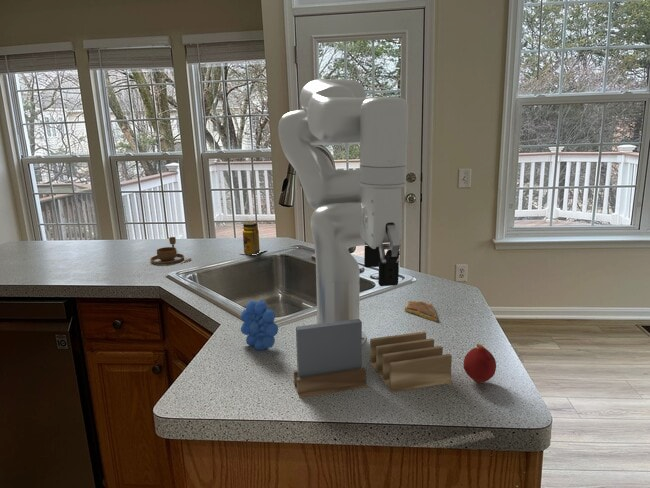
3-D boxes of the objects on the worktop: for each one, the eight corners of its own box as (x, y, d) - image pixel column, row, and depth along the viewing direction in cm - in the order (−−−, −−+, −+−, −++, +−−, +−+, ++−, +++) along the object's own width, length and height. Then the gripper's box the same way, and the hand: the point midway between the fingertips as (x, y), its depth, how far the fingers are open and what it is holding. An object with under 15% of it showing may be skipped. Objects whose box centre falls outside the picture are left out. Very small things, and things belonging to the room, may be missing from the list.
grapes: (292, 351, 101) (290, 300, 98) (269, 363, 96) (266, 309, 93) (258, 336, 109) (255, 288, 106) (235, 346, 104) (231, 296, 101)
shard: (437, 324, 115) (438, 317, 115) (406, 323, 116) (407, 316, 115) (431, 307, 126) (432, 301, 125) (403, 306, 126) (403, 300, 126)
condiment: (239, 254, 179) (237, 224, 176) (252, 249, 186) (250, 220, 183) (254, 256, 176) (253, 225, 173) (267, 251, 183) (266, 221, 180)
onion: (487, 374, 91) (490, 336, 89) (499, 390, 85) (503, 350, 83) (458, 375, 91) (460, 337, 89) (468, 391, 85) (471, 351, 83)
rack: (369, 364, 95) (369, 337, 94) (422, 356, 98) (423, 330, 97) (392, 396, 84) (392, 366, 82) (451, 386, 87) (453, 357, 85)
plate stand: (292, 384, 88) (292, 367, 87) (357, 374, 92) (357, 357, 91) (299, 401, 83) (298, 383, 82) (368, 390, 86) (368, 372, 85)
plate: (297, 386, 86) (295, 326, 83) (359, 376, 89) (359, 318, 86) (299, 390, 85) (297, 329, 82) (361, 380, 88) (361, 321, 85)
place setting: (136, 264, 170) (135, 248, 169) (171, 250, 188) (170, 236, 187) (176, 268, 164) (175, 252, 163) (208, 254, 182) (207, 239, 181)
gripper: (349, 171, 83) (348, 261, 88) (373, 184, 67) (371, 295, 72) (389, 169, 85) (387, 259, 89) (423, 183, 68) (418, 292, 73)
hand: (380, 275), depth 80 cm, fingers open, 9 cm apart
